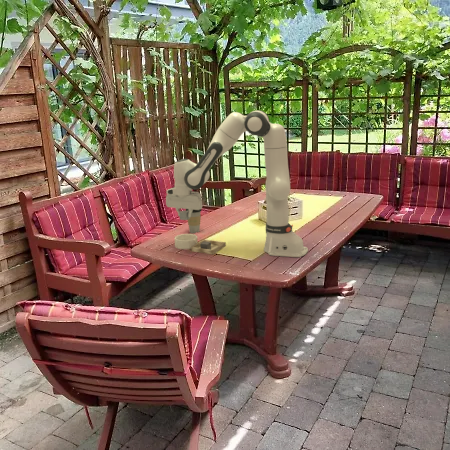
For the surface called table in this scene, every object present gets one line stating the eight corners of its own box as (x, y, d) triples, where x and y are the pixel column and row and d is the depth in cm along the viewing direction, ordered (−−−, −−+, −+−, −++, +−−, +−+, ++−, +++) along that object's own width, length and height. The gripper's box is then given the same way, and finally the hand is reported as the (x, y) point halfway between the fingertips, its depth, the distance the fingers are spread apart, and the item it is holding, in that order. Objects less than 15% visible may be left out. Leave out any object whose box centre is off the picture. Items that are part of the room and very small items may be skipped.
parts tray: (225, 247, 250) (225, 242, 249) (213, 256, 238) (213, 250, 237) (204, 244, 255) (204, 239, 255) (191, 252, 243) (190, 247, 243)
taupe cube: (190, 218, 249) (189, 211, 248) (186, 220, 246) (185, 212, 244) (183, 217, 251) (183, 210, 250) (179, 219, 247) (179, 212, 246)
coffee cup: (188, 235, 273) (187, 209, 269) (185, 230, 282) (183, 206, 277) (204, 233, 275) (203, 208, 271) (200, 228, 284) (199, 204, 280)
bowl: (201, 245, 255) (201, 235, 253) (190, 252, 245) (190, 242, 243) (182, 242, 260) (182, 232, 259) (170, 249, 250) (170, 239, 248)
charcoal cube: (211, 249, 245) (210, 242, 244) (207, 251, 241) (207, 244, 240) (204, 248, 246) (204, 241, 245) (200, 250, 243) (200, 243, 242)
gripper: (204, 190, 242) (205, 216, 246) (170, 188, 251) (171, 213, 255) (197, 193, 237) (199, 219, 240) (163, 190, 245) (165, 216, 249)
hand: (184, 216), depth 248 cm, fingers closed on taupe cube, 4 cm apart
